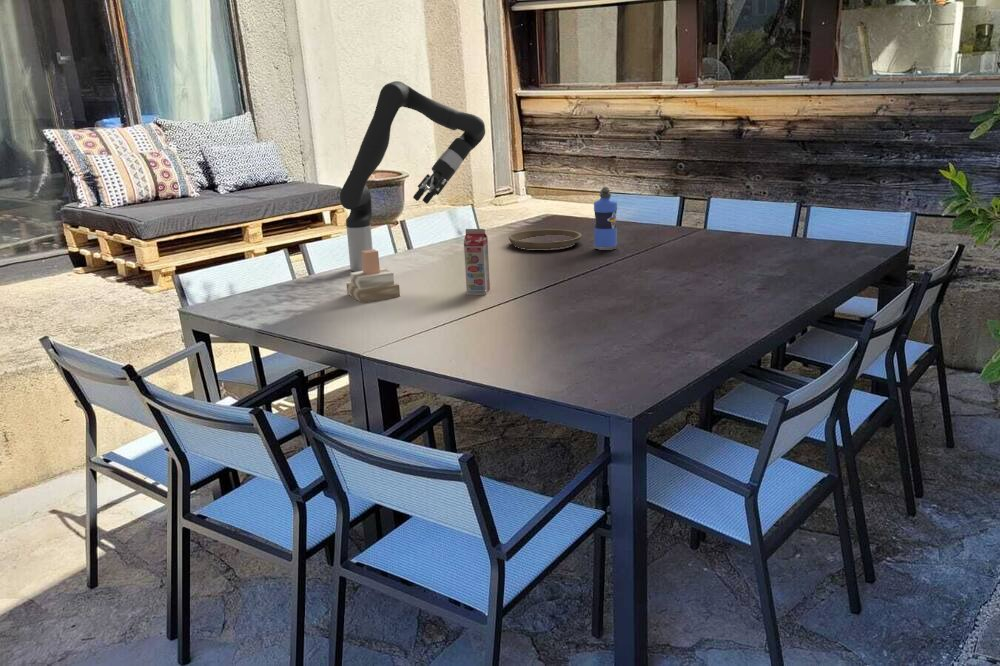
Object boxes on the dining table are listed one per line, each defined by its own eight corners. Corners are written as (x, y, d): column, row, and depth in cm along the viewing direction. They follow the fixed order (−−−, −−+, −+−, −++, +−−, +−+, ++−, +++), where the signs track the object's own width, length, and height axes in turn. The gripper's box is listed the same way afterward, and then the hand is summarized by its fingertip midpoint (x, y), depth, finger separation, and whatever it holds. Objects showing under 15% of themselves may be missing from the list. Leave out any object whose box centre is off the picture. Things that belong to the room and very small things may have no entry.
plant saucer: (545, 235, 394) (544, 225, 392) (597, 243, 372) (596, 233, 370) (493, 247, 374) (493, 236, 373) (545, 256, 352) (545, 245, 351)
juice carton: (471, 289, 304) (467, 227, 298) (489, 290, 303) (487, 227, 296) (466, 294, 298) (463, 230, 291) (485, 295, 297) (482, 230, 290)
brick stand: (347, 294, 305) (345, 272, 303) (384, 288, 311) (383, 266, 309) (361, 302, 293) (359, 279, 291) (400, 296, 300) (398, 273, 297)
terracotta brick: (363, 272, 301) (361, 251, 299) (375, 270, 303) (373, 249, 301) (367, 274, 297) (365, 253, 295) (380, 272, 299) (378, 251, 297)
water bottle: (590, 249, 359) (589, 188, 352) (601, 245, 366) (600, 185, 359) (610, 251, 354) (610, 189, 346) (621, 247, 361) (621, 186, 354)
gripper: (432, 156, 315) (404, 191, 313) (448, 159, 303) (420, 196, 301) (446, 170, 319) (419, 205, 317) (463, 173, 307) (435, 209, 305)
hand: (419, 200), depth 309 cm, fingers open, 8 cm apart
